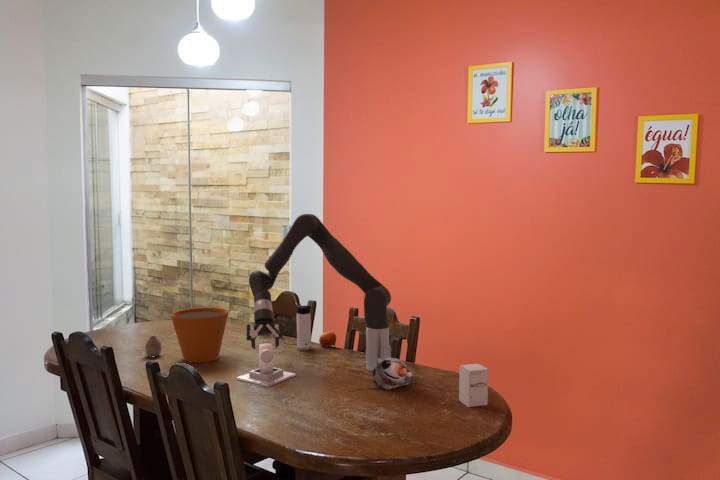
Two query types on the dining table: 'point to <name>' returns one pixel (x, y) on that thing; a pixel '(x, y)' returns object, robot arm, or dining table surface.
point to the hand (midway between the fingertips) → (265, 347)
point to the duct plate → (266, 377)
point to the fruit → (327, 339)
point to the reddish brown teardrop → (153, 347)
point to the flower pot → (200, 332)
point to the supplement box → (473, 385)
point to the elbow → (266, 358)
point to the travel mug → (304, 328)
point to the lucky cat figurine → (391, 373)
